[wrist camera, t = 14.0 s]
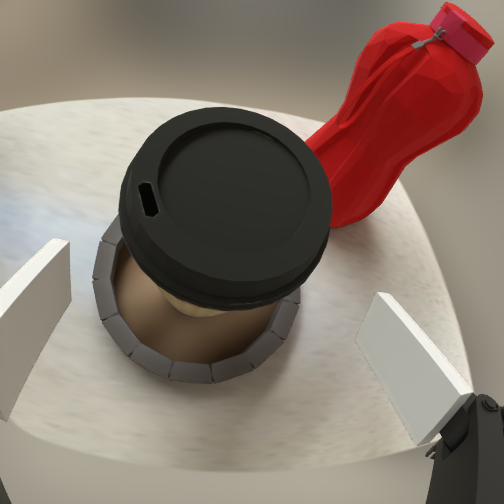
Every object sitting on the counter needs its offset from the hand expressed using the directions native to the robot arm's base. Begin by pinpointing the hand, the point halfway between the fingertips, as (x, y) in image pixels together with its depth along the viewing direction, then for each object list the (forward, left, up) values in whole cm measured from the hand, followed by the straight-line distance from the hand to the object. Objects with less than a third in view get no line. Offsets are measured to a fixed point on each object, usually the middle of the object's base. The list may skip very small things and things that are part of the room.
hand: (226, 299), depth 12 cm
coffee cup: (-2, +4, -13) cm, 14 cm away
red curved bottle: (+5, +19, -14) cm, 25 cm away
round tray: (-2, +4, -14) cm, 15 cm away
